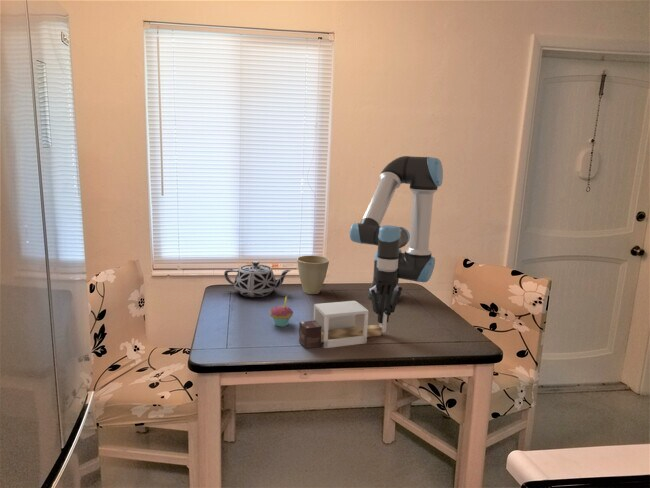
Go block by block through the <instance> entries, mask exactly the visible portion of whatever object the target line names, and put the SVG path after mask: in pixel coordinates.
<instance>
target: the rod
mask: <svg viewBox="0 0 650 488" xmlns="http://www.w3.org/2000/svg"><path fill="white" fill-rule="evenodd" d="M381 329H382V327H380V326H379V324H372V325H371V324H369V325H368V328H367V338H369V337H378V336H382V332H381ZM323 335H324V331H321V343H323ZM356 336H363V325H362V326H355V327H351V328H342V329H333V330H328V340H330V339H339V338H347V337H356Z"/></svg>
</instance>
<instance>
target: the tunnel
mask: <svg viewBox="0 0 650 488" xmlns="http://www.w3.org/2000/svg"><path fill="white" fill-rule="evenodd" d="M357 315H363V323H362V324H363V325H362V326H363V336H356V337H347V338H339V339H330V340H328V330H333V329H342V328H351V327H356V316H357ZM314 320H315V321H316V322H317V323H318V324H319V325H321V326H322V328H321V331H324V335H323V342H322V348H323V349H331V348H337V347H345V346H355V345H361V344H363V345H364V344H367V343H368V342H367V341H368V339H367V338H368V337H367V328H368V326H369V325H368V323H369V310H368V309H367V308H366V307H365V306H363V305H362V304H361V303H360V302H358V301H356V300H346V301H334V302H324V303H314V304H313V321H314Z"/></svg>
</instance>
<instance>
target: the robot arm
mask: <svg viewBox="0 0 650 488" xmlns="http://www.w3.org/2000/svg"><path fill="white" fill-rule="evenodd" d="M443 179H444V170H443V164H442V161H441V159H439V158H437V157H432V156H431V157H430V156H409V155H404V156H399V157H396V158H395V159H393V160H392V161H391V162H389V163H388V164H386V166H384V168H383V169H382V171H381V172H380V175H379V176H378V184H377V186H376V189H375V191H374V193H373V195H372V197H371V200H370V201H369V203H368V205H367V208H366V210H365V212H364V215H363V216H362V218H361V221H360V222H354V223H352V225H351V226H350V230H349V238H350V240H351V242H353V243H355V244H356V243H357V244H360V245H362V244H364V245H372V246H377V250H376V251H375V253H374V259H373V260H374V261H373V263H374V264H373V273H372V274H373V276H372V277H373V279H372V282H371V284H370V287H369V288H368V289H367V290H368V295H367V297H368V299H370V300H371V304H372V310H373V311H372V312H373V313H374V314H376V315H377V323H378V325H379V326H380V327H382V329H381V333H386V332H387V325H388V323H389V318H390V316H391V315H392V314H393V313H394V312H395V310H396V307H397V303H398V302H401V300H402V290H403V287H402V286H400V284H399V281H400V280H399V279H401V280H406V281H413V282H417V283H427V282H429V281H430V279H431V277H432V276H433V275H432V274H433V272H434V269H435V265H436V258H435V257H434V256H432V253H433V252H432V251H431V249H430V248H429V245H430V234H431V223H432V213H433V212H432V211H433V201H434V194H435V193H436V192H438V188H440V187H441V186H442V185H443ZM401 184H406V185H409V189H410V191H411V192H412V199H411V210H410V211H411V213H410V225H409V230H408V229H407V228H405V227H403V226H397V225H387V224H386V225H381V223H382V221H383V220H384V217H385V216H386V215H385V214H386V212H387V210H388V208H389V206H390V203H391V201H392V199H393V197H394V194H395V192H396V190H397V189H398V188H400V187H401ZM407 244H408V247H407V248H406V249H404V252H402V248H404V247H405V246H406V245H407ZM391 313H392V314H391Z"/></svg>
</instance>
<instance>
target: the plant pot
mask: <svg viewBox="0 0 650 488" xmlns="http://www.w3.org/2000/svg"><path fill="white" fill-rule="evenodd" d="M296 263H297V269H298V275H299V279H300V284H301V287H302V289H303V290H302V291H303V292H304V294H307V295H317V294H320V292H321V290H322V288H323V285H324V282H325V279H326V276H327V272H328V267H329V263H330V259H329V258H328V257H326V256H320V255H301V256H298V257H297V259H296Z"/></svg>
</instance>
